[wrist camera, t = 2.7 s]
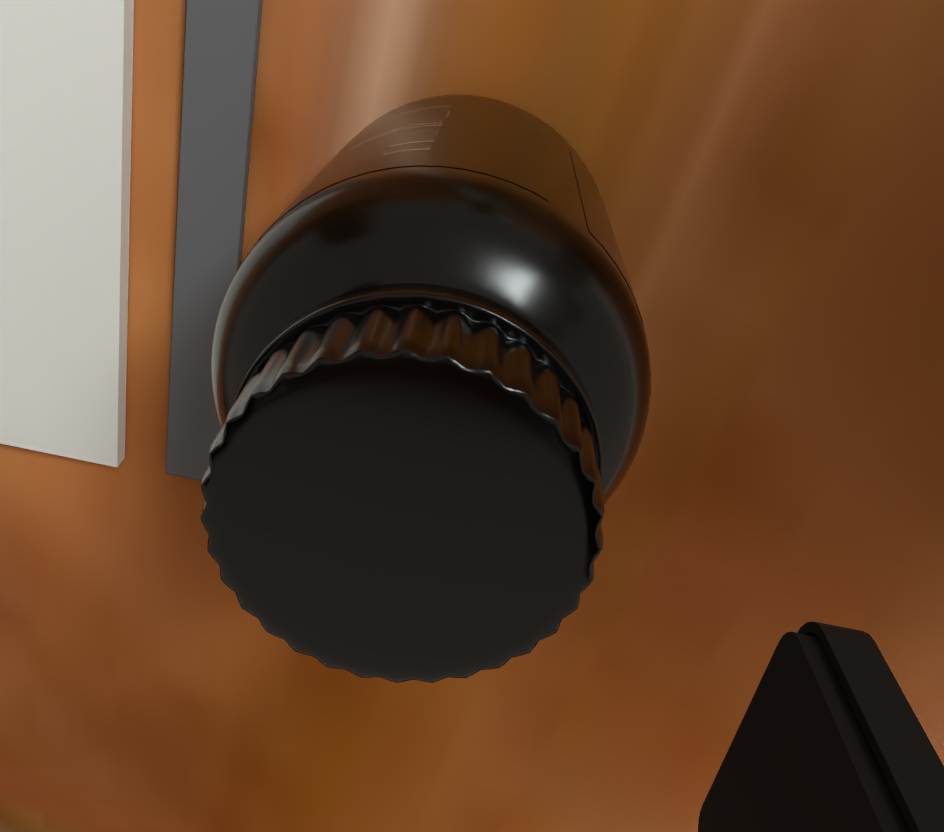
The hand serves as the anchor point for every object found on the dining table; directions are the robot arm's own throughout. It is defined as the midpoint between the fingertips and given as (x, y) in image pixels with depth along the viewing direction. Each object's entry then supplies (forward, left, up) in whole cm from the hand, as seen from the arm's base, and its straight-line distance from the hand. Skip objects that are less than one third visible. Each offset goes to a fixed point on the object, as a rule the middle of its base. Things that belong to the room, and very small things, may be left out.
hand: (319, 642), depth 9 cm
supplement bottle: (0, 0, -14) cm, 14 cm away
